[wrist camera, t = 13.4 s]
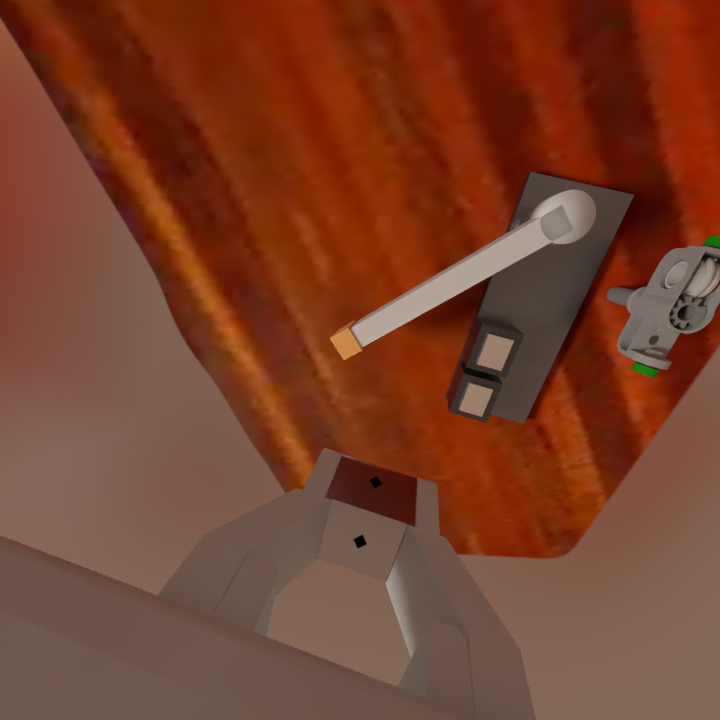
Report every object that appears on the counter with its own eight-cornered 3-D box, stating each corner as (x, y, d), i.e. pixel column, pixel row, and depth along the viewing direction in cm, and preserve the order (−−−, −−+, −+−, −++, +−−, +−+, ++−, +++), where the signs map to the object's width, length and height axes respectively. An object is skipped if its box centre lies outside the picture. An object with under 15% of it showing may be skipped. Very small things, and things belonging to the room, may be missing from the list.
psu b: (460, 362, 37) (464, 374, 33) (496, 372, 36) (504, 385, 33) (447, 398, 38) (449, 413, 35) (481, 408, 38) (487, 424, 34)
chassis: (527, 174, 31) (547, 160, 26) (626, 196, 30) (668, 186, 25) (445, 396, 40) (448, 419, 34) (521, 418, 39) (535, 445, 34)
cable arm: (566, 186, 26) (585, 177, 23) (584, 227, 27) (605, 225, 23) (335, 324, 33) (326, 332, 30) (354, 354, 34) (347, 365, 31)
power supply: (477, 316, 35) (483, 324, 31) (515, 326, 34) (525, 336, 31) (462, 356, 36) (466, 368, 33) (498, 366, 36) (506, 379, 33)
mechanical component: (576, 338, 35) (631, 371, 26) (626, 236, 31) (712, 233, 22) (605, 345, 35) (671, 382, 25) (659, 244, 31) (760, 244, 22)
